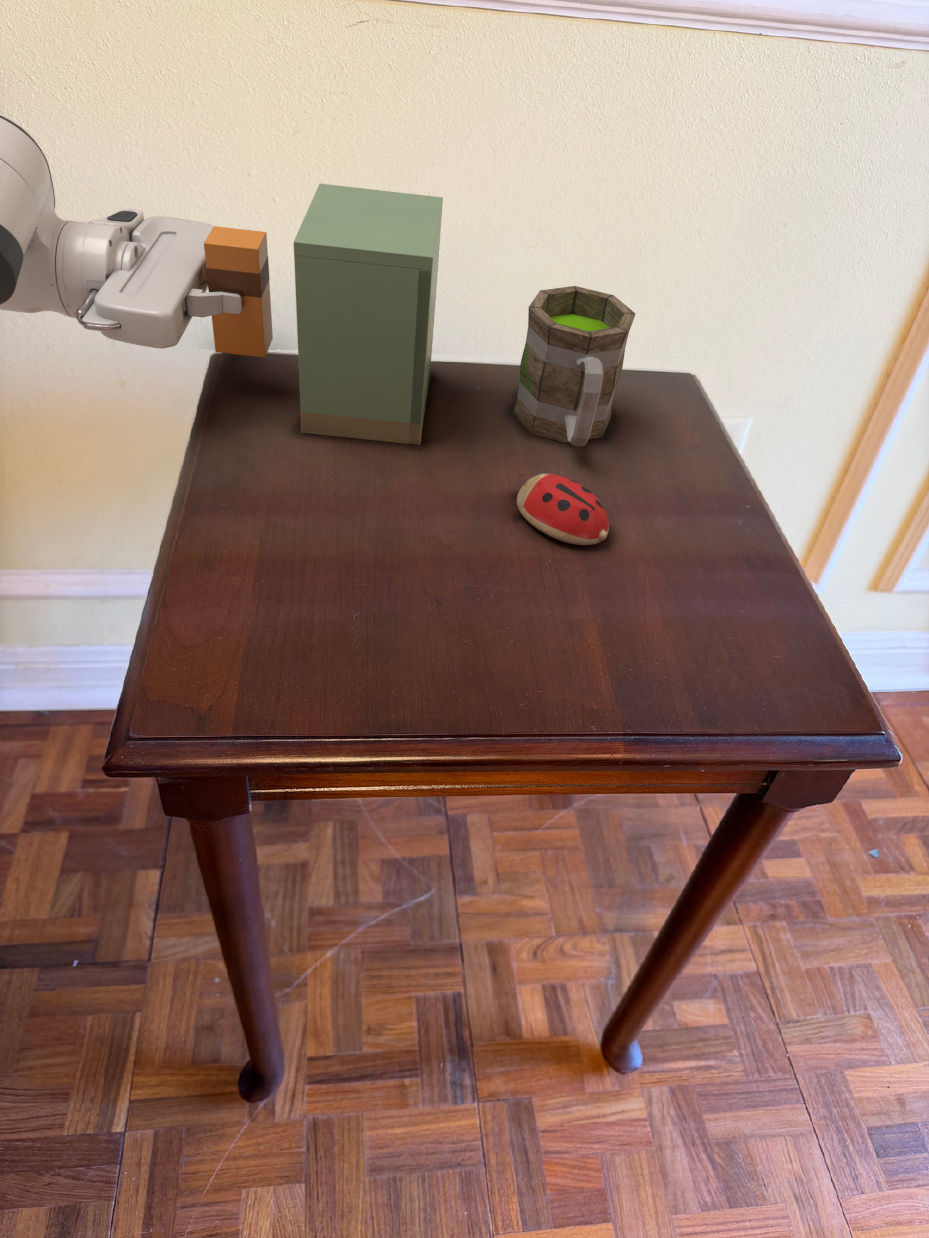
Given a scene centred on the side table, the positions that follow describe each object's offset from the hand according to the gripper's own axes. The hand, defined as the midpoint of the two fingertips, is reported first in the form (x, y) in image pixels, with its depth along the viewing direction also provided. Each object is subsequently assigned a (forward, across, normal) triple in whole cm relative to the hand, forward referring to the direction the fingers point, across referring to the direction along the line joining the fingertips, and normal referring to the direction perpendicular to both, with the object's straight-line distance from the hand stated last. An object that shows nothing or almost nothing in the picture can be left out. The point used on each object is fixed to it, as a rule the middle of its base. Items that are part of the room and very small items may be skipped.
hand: (248, 289), depth 87 cm
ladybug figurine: (+32, -17, +11) cm, 38 cm away
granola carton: (-1, 0, +6) cm, 6 cm away
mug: (+33, -1, +11) cm, 35 cm away
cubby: (+12, 0, +11) cm, 16 cm away
